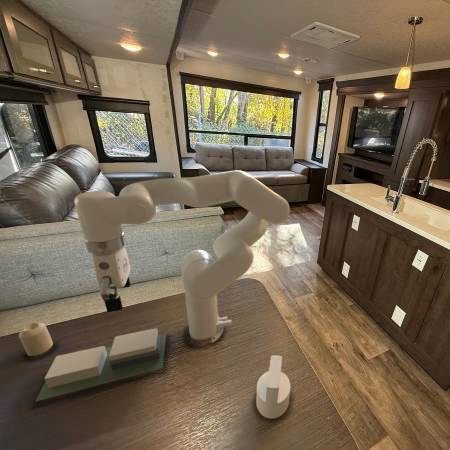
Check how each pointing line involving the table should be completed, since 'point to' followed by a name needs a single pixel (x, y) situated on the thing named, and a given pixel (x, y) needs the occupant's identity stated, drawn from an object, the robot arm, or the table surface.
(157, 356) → the grey book
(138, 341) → the white book
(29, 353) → the candle
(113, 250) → the robot arm
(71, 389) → the shelf board
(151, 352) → the grey book
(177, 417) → the table surface
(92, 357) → the white book
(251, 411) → the table surface
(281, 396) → the base with upright slab
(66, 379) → the white book
